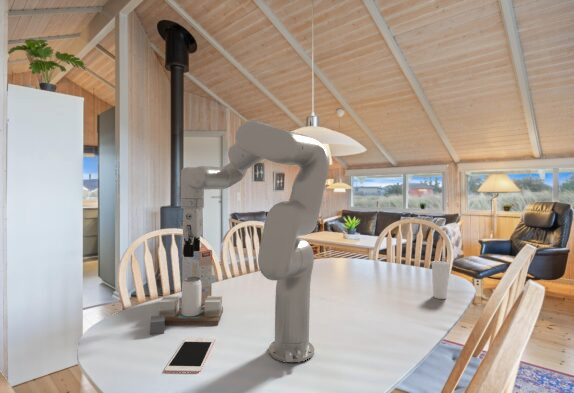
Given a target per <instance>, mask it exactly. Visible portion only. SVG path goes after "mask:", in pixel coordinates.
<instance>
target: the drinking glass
mask: <svg viewBox="0 0 574 393" xmlns="http://www.w3.org/2000/svg"><path fill="white" fill-rule="evenodd" d="M449 278H450V262H448V261H443V260H434V261H433V260H432V264H431V280H432V297H433V298H435V299H439V300H445V299H447V298H448V297H447V296H448V295H447V294H448V288H449V287H448V286H449Z"/></svg>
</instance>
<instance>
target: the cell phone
mask: <svg viewBox="0 0 574 393" xmlns="http://www.w3.org/2000/svg"><path fill="white" fill-rule="evenodd" d="M215 342H216V338H215V337H185V338H184V340H183V341H182V343H181V344H180V345H179V347H178V349H177V350H176V352H175V353H174V354H173V355H172V357H171V359H170V360H169V362H168V364H167V365H166V366H165V368H164V373H166V372H171V374H173V373H172V372H175V373H176V372H178V373H176V374H183V373H182V372H186V373H185V374H200V373H201V372H202V370H203V368H204V366H203V365H205V364H206V361H207V360H208V357H209V354H210V353H211V350H212V349H213V346H214V344H215ZM204 363H205V364H204ZM202 367H203V368H202ZM179 372H181V373H179ZM187 372H189V373H187ZM190 372H191V373H190ZM199 372H200V373H199ZM175 373H174V374H175Z"/></svg>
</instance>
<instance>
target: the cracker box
mask: <svg viewBox="0 0 574 393" xmlns="http://www.w3.org/2000/svg"><path fill="white" fill-rule="evenodd" d="M181 265H182V266H181V267H182V269H181V270H182V271H181V276H182V277H181V284H182V283H183V281H184V280H183V279H184V278H187V277H199V278H200V281H201V306H205V300H206V299H207V297H208V296H212V289H213V288H212V286H213V285H212V283H213V281H212V280H213V278H212V277H213V275H212V274H213V268H212V267H213V250H212V249H209V248H206V247H201V246H200V251H194V256H193V257H184V246H182V264H181Z"/></svg>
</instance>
